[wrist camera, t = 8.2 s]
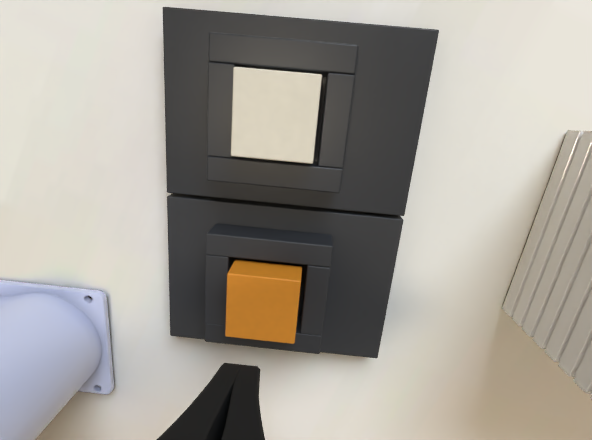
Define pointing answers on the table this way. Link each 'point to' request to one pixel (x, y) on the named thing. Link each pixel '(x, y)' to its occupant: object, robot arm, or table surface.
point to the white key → (274, 114)
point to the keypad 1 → (288, 251)
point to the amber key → (262, 301)
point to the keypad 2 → (331, 115)
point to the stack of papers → (560, 265)
